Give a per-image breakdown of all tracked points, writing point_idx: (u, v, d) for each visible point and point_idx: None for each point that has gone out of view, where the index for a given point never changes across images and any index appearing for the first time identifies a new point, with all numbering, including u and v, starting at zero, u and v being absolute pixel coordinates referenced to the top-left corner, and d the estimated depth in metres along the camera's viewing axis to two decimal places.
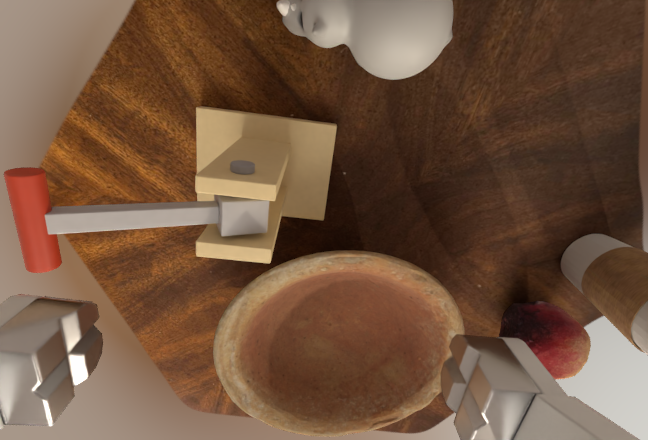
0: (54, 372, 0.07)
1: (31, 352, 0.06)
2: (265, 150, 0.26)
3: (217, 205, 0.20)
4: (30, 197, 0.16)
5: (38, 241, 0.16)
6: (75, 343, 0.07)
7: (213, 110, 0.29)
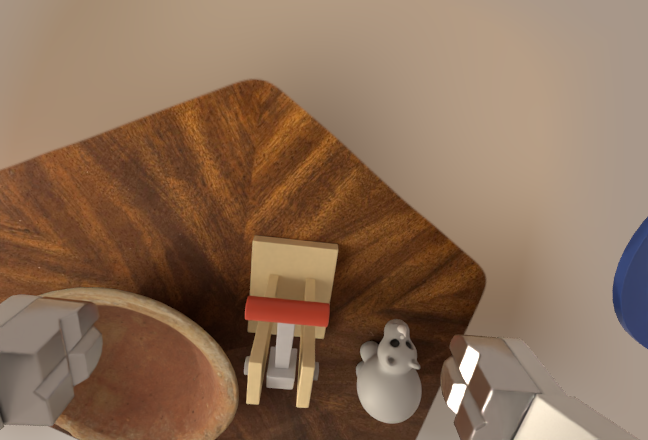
0: (54, 372, 0.07)
1: (31, 352, 0.06)
2: None
3: (288, 367, 0.27)
4: (310, 325, 0.21)
5: (273, 321, 0.21)
6: (75, 343, 0.07)
7: (335, 261, 0.37)
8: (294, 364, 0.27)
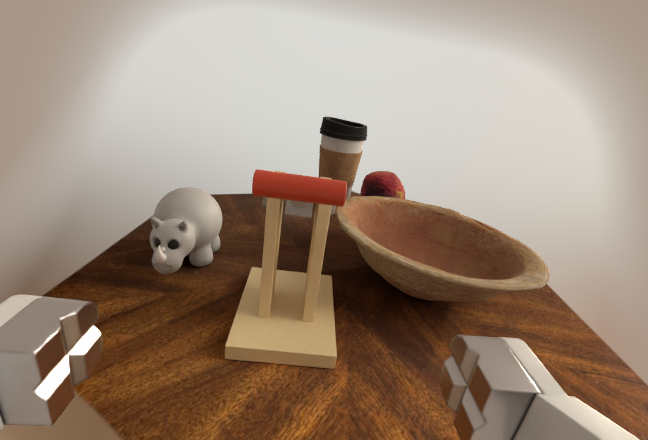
0: (54, 372, 0.07)
1: (31, 352, 0.06)
2: None
3: None
4: None
5: None
6: (75, 343, 0.07)
7: (230, 333, 0.29)
8: None
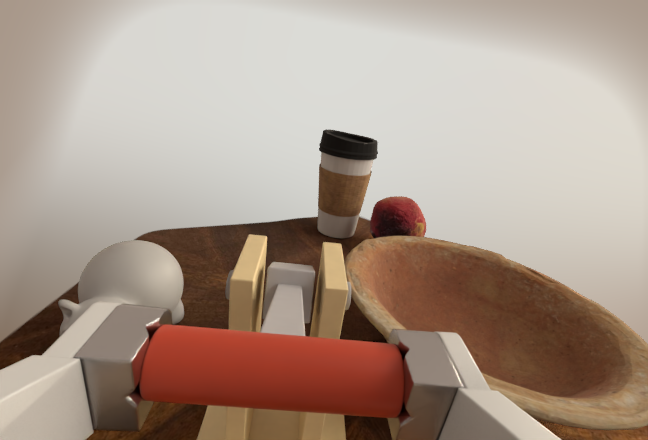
0: None
1: (129, 360, 0.06)
2: None
3: (277, 285, 0.16)
4: (212, 328, 0.07)
5: (317, 337, 0.07)
6: None
7: None
8: (267, 290, 0.16)
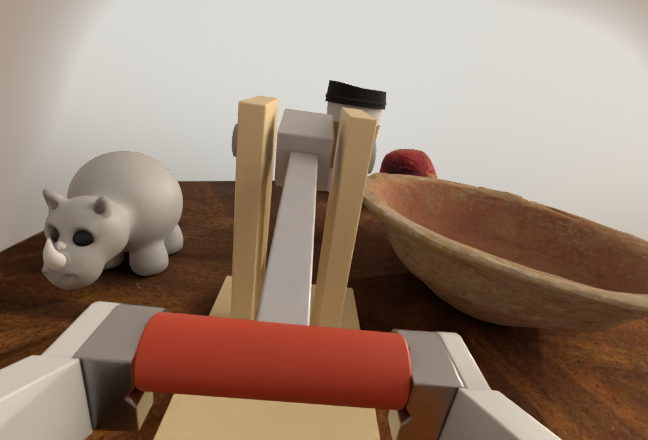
0: None
1: (128, 360, 0.06)
2: None
3: (289, 153, 0.13)
4: (203, 324, 0.06)
5: (320, 336, 0.07)
6: None
7: (168, 409, 0.14)
8: (279, 158, 0.14)
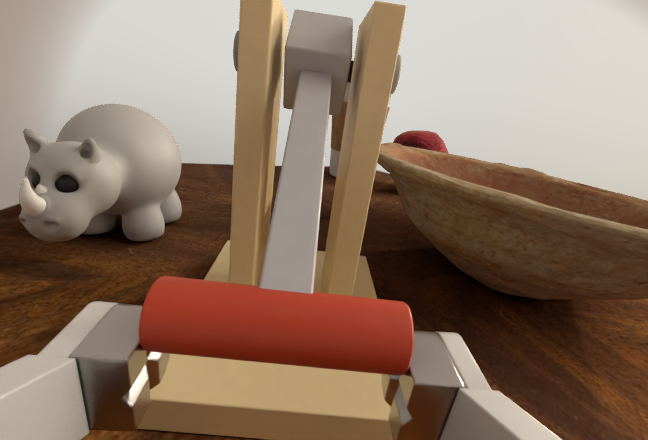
0: (136, 378, 0.07)
1: (124, 359, 0.06)
2: None
3: (300, 72, 0.12)
4: (204, 294, 0.06)
5: (323, 309, 0.06)
6: None
7: None
8: (287, 77, 0.12)
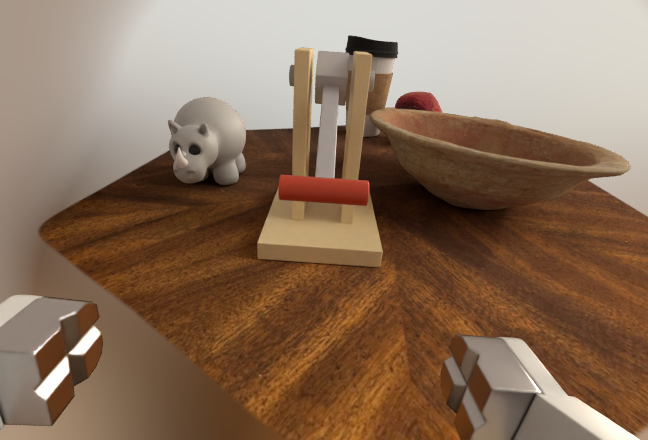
0: (54, 372, 0.07)
1: (31, 352, 0.06)
2: None
3: (323, 86, 0.24)
4: (297, 178, 0.19)
5: (338, 181, 0.19)
6: (75, 343, 0.07)
7: (261, 233, 0.26)
8: (317, 88, 0.24)
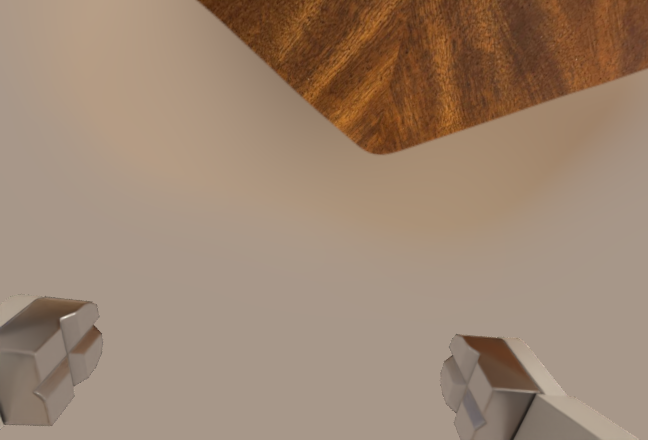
0: (54, 372, 0.07)
1: (31, 352, 0.06)
2: None
3: None
4: None
5: None
6: (75, 343, 0.07)
7: None
8: None
